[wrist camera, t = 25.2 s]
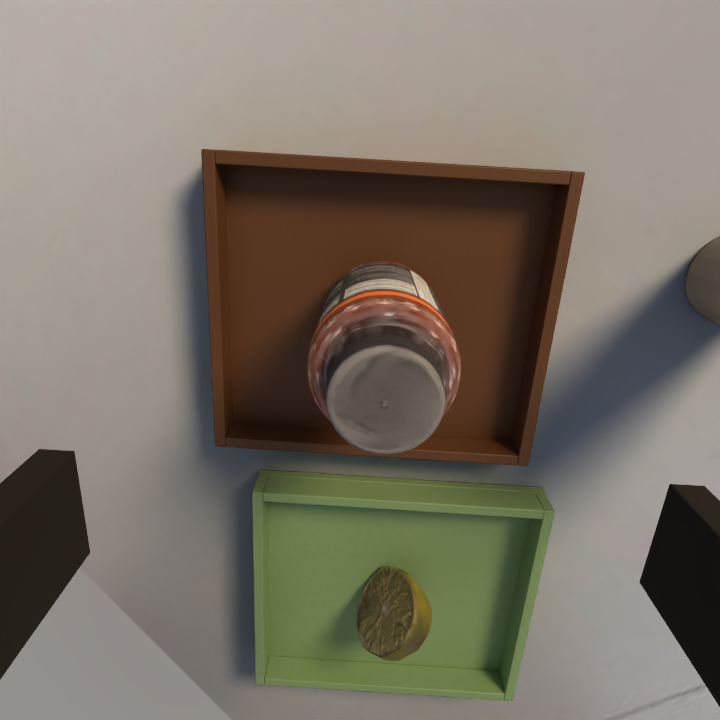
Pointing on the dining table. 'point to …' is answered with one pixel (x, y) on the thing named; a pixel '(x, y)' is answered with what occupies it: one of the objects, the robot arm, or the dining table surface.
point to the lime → (393, 615)
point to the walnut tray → (382, 243)
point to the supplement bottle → (383, 359)
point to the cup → (705, 281)
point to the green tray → (409, 553)
